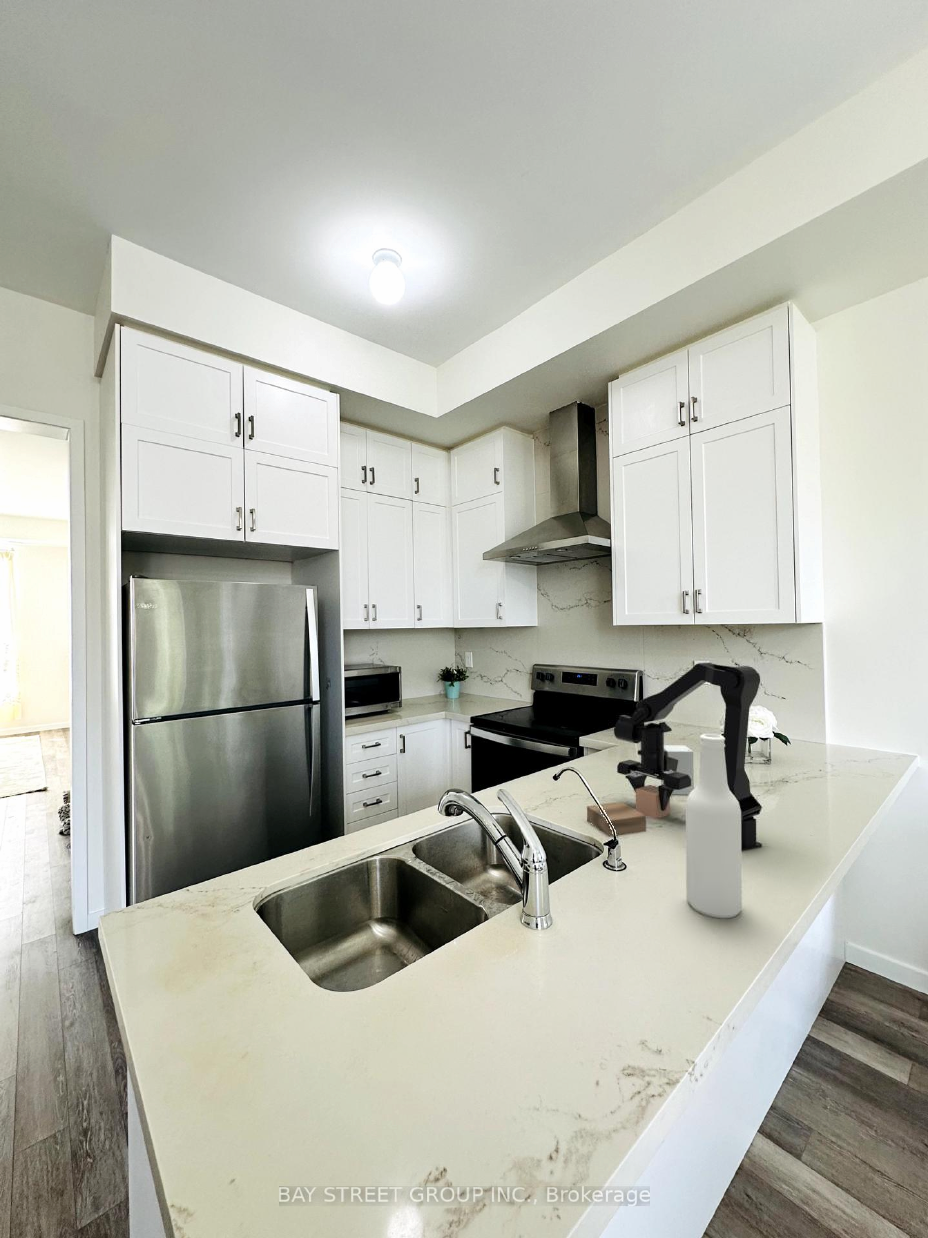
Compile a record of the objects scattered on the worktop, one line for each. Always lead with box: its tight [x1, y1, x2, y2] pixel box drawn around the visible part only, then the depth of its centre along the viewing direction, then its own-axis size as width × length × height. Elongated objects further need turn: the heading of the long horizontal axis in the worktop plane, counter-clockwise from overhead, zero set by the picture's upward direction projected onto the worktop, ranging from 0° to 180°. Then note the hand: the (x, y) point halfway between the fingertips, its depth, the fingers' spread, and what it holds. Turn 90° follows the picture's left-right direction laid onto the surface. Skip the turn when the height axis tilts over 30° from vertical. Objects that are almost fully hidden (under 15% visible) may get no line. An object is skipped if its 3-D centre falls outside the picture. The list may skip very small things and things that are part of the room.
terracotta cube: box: [635, 784, 671, 820], centre depth 138 cm, size 6×6×6 cm
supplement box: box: [660, 744, 695, 796], centre depth 155 cm, size 7×7×13 cm
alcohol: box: [685, 733, 743, 919], centre depth 93 cm, size 9×9×30 cm
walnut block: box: [586, 801, 647, 837], centre depth 130 cm, size 10×10×4 cm
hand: (652, 807), depth 138 cm, fingers closed on terracotta cube, 6 cm apart
